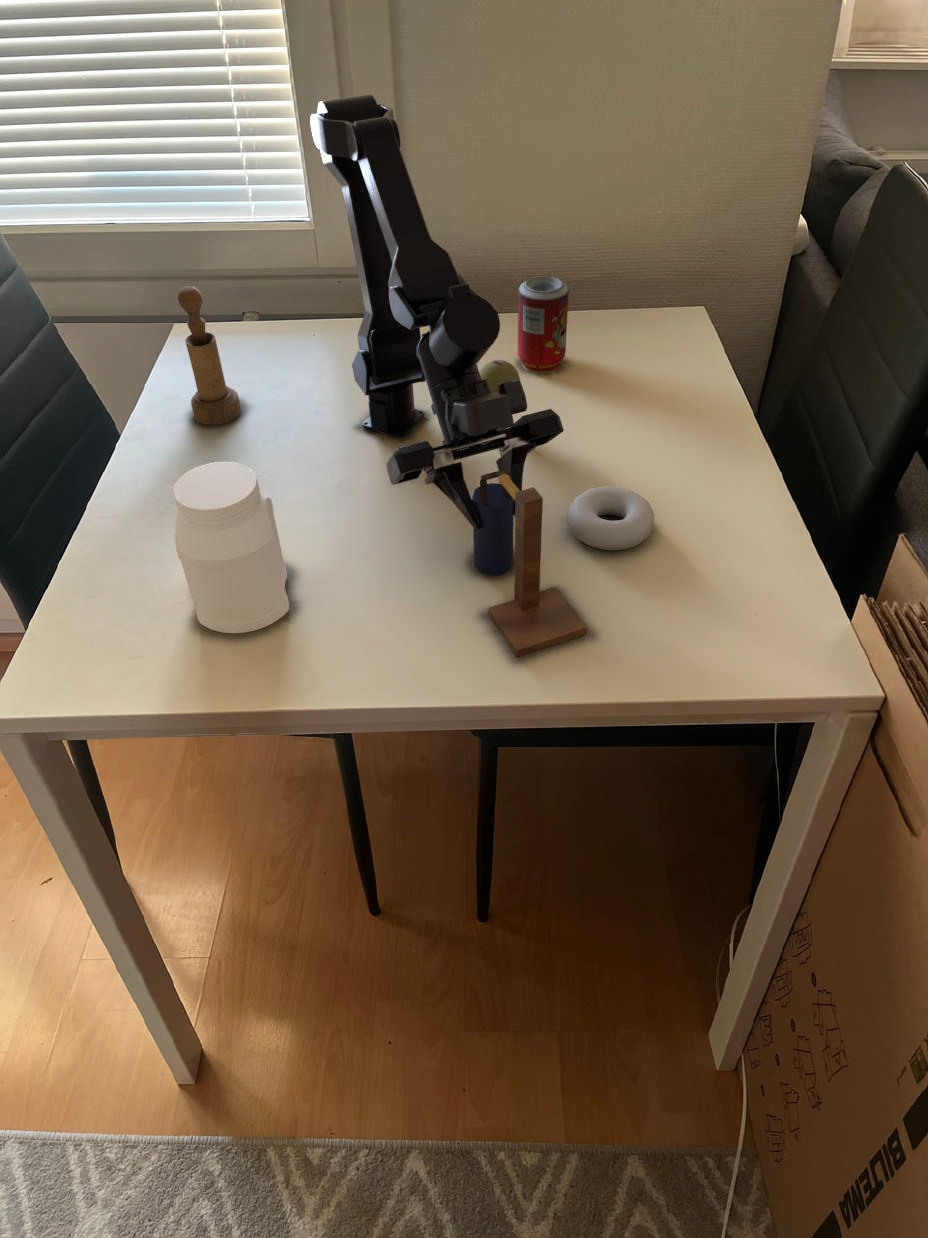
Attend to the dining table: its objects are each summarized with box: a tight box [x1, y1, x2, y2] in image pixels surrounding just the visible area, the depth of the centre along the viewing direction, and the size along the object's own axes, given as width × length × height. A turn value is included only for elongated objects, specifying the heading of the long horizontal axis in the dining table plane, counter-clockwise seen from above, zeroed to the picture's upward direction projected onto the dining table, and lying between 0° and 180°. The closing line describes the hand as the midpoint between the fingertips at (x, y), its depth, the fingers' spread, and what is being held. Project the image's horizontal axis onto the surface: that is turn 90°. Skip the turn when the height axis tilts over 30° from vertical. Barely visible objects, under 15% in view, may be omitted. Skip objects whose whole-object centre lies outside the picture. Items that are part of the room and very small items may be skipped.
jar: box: [172, 461, 290, 634], centre depth 96 cm, size 12×10×15 cm
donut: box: [567, 485, 655, 551], centre depth 107 cm, size 10×3×10 cm
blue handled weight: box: [471, 468, 514, 576], centre depth 100 cm, size 4×4×13 cm
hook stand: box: [488, 474, 588, 658], centre depth 93 cm, size 12×8×15 cm, turn 23°
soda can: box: [517, 275, 570, 374], centre depth 133 cm, size 7×7×12 cm
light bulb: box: [479, 359, 521, 431], centre depth 121 cm, size 6×6×10 cm
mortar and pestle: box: [177, 285, 242, 426], centre depth 123 cm, size 7×6×18 cm
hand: (498, 523), depth 99 cm, fingers closed on blue handled weight, 4 cm apart
